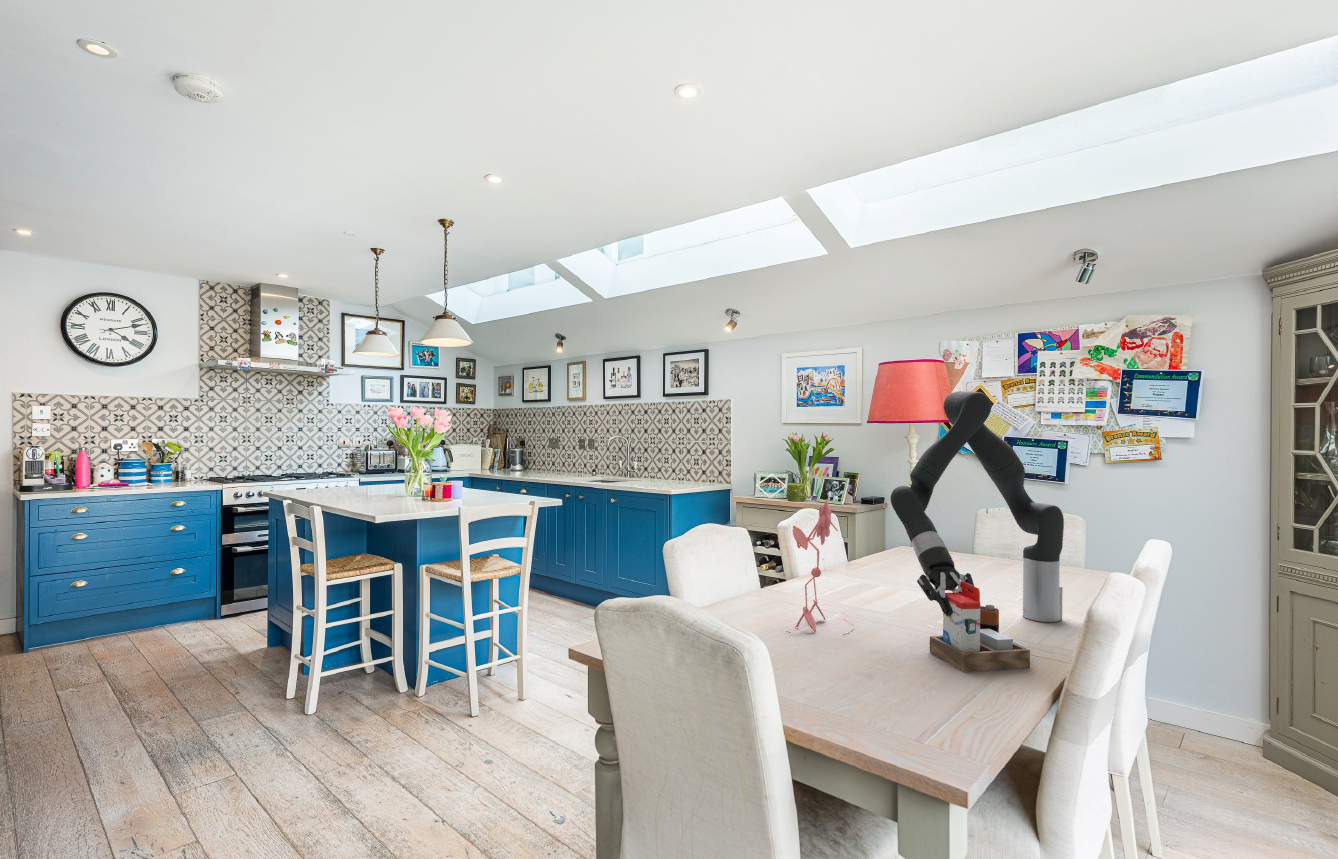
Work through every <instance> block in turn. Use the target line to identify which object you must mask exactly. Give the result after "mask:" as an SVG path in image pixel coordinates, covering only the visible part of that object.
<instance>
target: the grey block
mask: <svg viewBox="0 0 1338 859" xmlns="http://www.w3.org/2000/svg"><path fill="white" fill-rule="evenodd" d="M980 643H982V644H984V645H986V646H988V647H990V648H992V649H994V650H996V651H998V650H1013V643H1014V639H1013V638H1012V637H1009V636H1007V635H1005V634H1003V633H1000V632H999V633H998V632H996V631H994V630H991V629H980Z"/></svg>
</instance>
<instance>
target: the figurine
mask: <svg viewBox="0 0 1338 859" xmlns="http://www.w3.org/2000/svg"><path fill="white" fill-rule="evenodd" d="M828 501H829V500H828V498H827V499H825V500H824V504H823V505H820V506H819V509H818V515H819V516H818V521H817V522H816V524H815V526H814V527H813V529H812V530H811V532H810V533H809V535H808V536H806V533H804V531H803V530H802V529H801V528H799V527H798V526H796V525H793V526H792V535H793V538H794V540H795V541H796V546H797V549H800V548H802V549H804V550H806V551H807V550H808V547H809V544H810V545H811V546H812V547H813V548H814V549H815V550H816V556H817V557H816V566H815V567H813V568H812V569H811V571H810V574H811V576H812V577H811V578H810V579H809V580H808V581H807V582H806V583H805V584H804V591H805V592H804V593H805V606H803V607H802V614H801V617H800V618H799V620H798V621H797V623H796V625H795V628H796V627H797V628H798V627H799V625H800V624H801V622H802V620H803V619H804V620H805V621H806V622H807V624H808V625H809V627H810V628H811V630H812V631H813V632H814V633H816V632H817V627H816V625H817V624H816V621H815V619H814V616H813V614H812V611H813V610H814V609H815V606H816V609H817V610H818V612H819V613H820V615H821V616H822V618H823V619H824V621H826V617H825V616H824V614H823V612H822V610H821V608H820V606H819V605H818V603H819V601H818V600H817V589H816V579H815V578H820V576H821V575H822V570H821V569H820V568H819V565H820V564H819V563H820V550H819V548H817V546H816V545H815V544H814V543H813V542H812V540H814V539H815V537H817V538H819V539H820V544H821V546H824V544H825V541H826V538H828V537H829V536H830V534H831V530H830V527H831V526H832V528H833V529H834V530H836V532H838V531H839V530H838V528H836V526H835V525H834V524H833V523H832V510H833V509H832V507H831V506H830V507H829V502H828ZM811 581H813V589H814V598H815V599H812V601H813V604H812V606H811V608H810V610H809V608H808V592H807V591H808V590H807V589H808V588H807V585H809V583H811ZM842 621H845V622H847V623H848V622H849V621H847V620H846V619H842ZM851 626H852V630H851V631H854V630H853V627H854V625H851ZM851 631H849V632H848V633H844V634H842V636H845V635H847V634H848V635H849V634H850V633H851ZM785 632H786V633H790V634H792V632H791V631H787V630H786V631H785Z"/></svg>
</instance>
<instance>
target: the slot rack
mask: <svg viewBox="0 0 1338 859" xmlns="http://www.w3.org/2000/svg"><path fill="white" fill-rule="evenodd" d="M929 654H931V655H933V656H935V658H938V659H939V660H940V661H943V662H945V663H947V664H948V665H950V666H952V667H953V668H955V669H957V670H959V671H961V672H962V673H969V672H970V673H973V672H985V671H986V672H988V671H1000V670H1001V671H1002V670H1015V669H1029V668H1031V649H1029V648H1026V647H1024V646H1022V645H1020V644H1018V643H1016V642H1013V650H998V651H996V650H994V649H992V648H990V647H988V646H986V645H984V644H982V643H980V652H963V651H961V650H959V649H957V648H955V647H953V646H951V645H949V644H947V643H946V642H944V641H943V635H929Z"/></svg>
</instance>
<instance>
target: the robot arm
mask: <svg viewBox="0 0 1338 859" xmlns="http://www.w3.org/2000/svg"><path fill="white" fill-rule="evenodd" d="M943 411H944V414H945V416H946V418H947V420H948V421H949V422H950V424H951V425H952V426H951V427H950V428H949V430H948V431H947V432H945V433H944V435H942V436H941V437H940V438H939V439H937V441H935V442H934V443H933V444H932V445H931V446H929V447H928V448H927V449H926V450H925V451H924V452H923V454H922V455H921V456H920V457H919V459H918V461H917V462H916V464H915V465H914V466H913V469H912V470H911V471H910V472H911V473H910V474H909V478H910V481H911V482H910V484H911V485H910V486H907V485H900V486H897V487H895V488H894V489H893V490H892V491H891V494H890V503H891V506H892V509H893V510H894V513H895V514H896V516H897V517H898V519H899V520H900V522H901V523H902V526H903V527H904V529H905V532H906V535H907V536H908V538H909V540H910V543H911V546H912V547H913V551H914V554H915V556H916V558H917V560H918V563H919V564H920V567H921V569H922V571H923V573H924V574H921V575H920V576H919V577H918V579H917V580H916V583H917V584H918V585H919V587H920V588H921V590H922V591H923V593H924V595H925V596H926V597H927V599H928V600H929V601H930V602H931V601H932V602H934V601H935V602H936V603H937V604H939V607H940V609H941V611H942V614H943V613H944V614H946V616H951V615H952V613H953V610H952V608H951V606H950V604H949V602H948V600H947V598H945V593H946V591H949V592H951V593H961V592H962V587H961V581H963V582H965V583H968V584H970V585H972V586H974V587H975V584H974V580H973V577H972V575H971V573H970V572H966V573H965V574H962V573H960V572H959V571H957V568H956V567H955V563H954V560H953V558H952V556H951V553H950V552H949V550H948V548H947V546H946V544H945V542H944V541H943V539H942V537H941V536H940V534H939V532H938V530H937V529H936V527H935V525H934V523H933V521H932V520H931V518H930V517H929V516H928V515H927V514H926V509H927V508H928V506H929V503H930V500H931V498H932V495H933V492H934V490H935V489H934V488H935V486H936V484H937V483H938V481H939V480H940V478H941V477H942V475H943V474H944V472H945V470H946V469H947V467H948V466H949V465H950V463H951V462H952V461H953V459H954V458H955V456H956V455H957V454H958V453H959V452H960V451H961V449H962V448H963V447H964V446H965V445H966V444H967V445H968V446H969V448H970V449H971V451H972V452H973V453H974V455H975V457H976V458H977V459H978V461H979V462H980V465H982V467H983V470H985V472H986V474H987V475H988V477H989V478H990V479H991V481H992V482H993V483H994V485H995V487H996V488H997V490H998V491H999V493H1000V495H1001V496H1002V498H1003V499H1004V501H1005V502H1006V505H1007V506H1008V508H1009V510H1010V512H1011V514H1012V517H1013V518H1014V520H1015V522H1016V524H1017V525H1018V527H1019V528H1020V529H1021V530H1022V531H1023V532H1024V533H1027V534H1029V535H1030V534H1031V535H1037V539H1036V543H1035V544H1033V545H1028V546H1025V547H1024V548H1023V550H1022V616H1023V617H1024V618H1025V619H1027V620H1031V621H1036V622H1040V623H1041V622H1043V623H1056V622H1059V621H1062V620H1063V594H1064V593H1063V586H1061V585H1060V583H1061V582H1060V573H1061V572H1060V570H1061V569H1060V567H1061V566H1060V563H1061V562H1060V560H1061V559H1060V558H1061V557H1060V556H1061V554H1062V549H1063V543H1064V542H1063V541H1064V531H1065V530H1064V528H1065V521H1064V520H1065V519H1064V514H1063V512H1062V510H1061V508H1060V507H1059V506H1057V505H1055V504H1049V503H1040V502H1035V501H1034V500H1033V499H1032V498H1031V497H1030V495H1029V494H1028V492H1027V491H1026V489H1025V480H1026V479H1025V478H1026V469H1025V466H1024V464H1023V462H1022V461H1021V459H1020V457H1019V456H1018V455H1017V453H1016V451H1015V450H1014V449H1013V447H1012V446H1011V445H1010V444H1008V442H1006V441H1005V440H1004V439H1003V438H1001V437H1000V436H999V435H997V434H996V433H995V432H994V431H992V430H991V429H990V428H989V427H988V426H987V425H986V424H985V422H986V421H987V420H988V418H989V416H990V415H991V412H992V402H991V399H990V397H989V396H988V395H987V394H985V393H983V392H981V391H971V390H970V391H969V390H968V391H967V390H965V391H962V390H961V391H960V390H959V391H953V392H951V393H949V394H948V395H947V396H946V397H945V399H944V401H943ZM933 586H934V587H933ZM967 590H968V591H969V592H971V593H973V591H972V590H971V589H970V588H969V589H968V588H967Z"/></svg>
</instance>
